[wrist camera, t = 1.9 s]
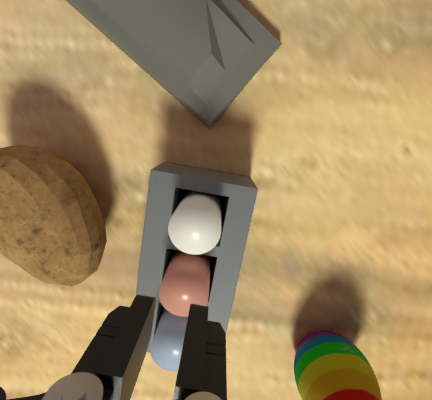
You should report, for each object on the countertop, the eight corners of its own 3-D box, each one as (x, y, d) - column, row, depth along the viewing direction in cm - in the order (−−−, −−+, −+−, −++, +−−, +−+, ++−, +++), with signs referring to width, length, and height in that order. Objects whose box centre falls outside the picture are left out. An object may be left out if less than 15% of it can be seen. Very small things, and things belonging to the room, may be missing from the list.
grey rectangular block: (165, 162, 28) (150, 169, 22) (250, 177, 28) (257, 188, 22) (145, 310, 32) (129, 348, 27) (219, 322, 33) (219, 363, 27)
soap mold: (209, 130, 28) (207, 130, 24) (45, -16, 25) (17, -39, 22) (279, 47, 26) (288, 34, 22) (109, -123, 23) (90, -168, 19)
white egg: (183, 184, 26) (171, 200, 20) (224, 192, 26) (225, 209, 20) (177, 224, 26) (164, 249, 21) (217, 231, 27) (216, 258, 21)
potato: (73, 275, 31) (24, 322, 24) (-6, 170, 29) (-90, 184, 21) (142, 238, 30) (115, 274, 22) (67, 124, 27) (6, 120, 20)
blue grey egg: (167, 288, 28) (153, 328, 22) (205, 294, 28) (200, 336, 22) (162, 320, 29) (147, 367, 23) (199, 326, 29) (193, 374, 23)
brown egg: (175, 239, 27) (162, 268, 21) (214, 245, 27) (212, 277, 21) (169, 274, 28) (155, 312, 22) (207, 281, 28) (204, 320, 22)
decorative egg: (320, 309, 32) (363, 386, 22) (368, 346, 33) (429, 435, 23) (274, 353, 34) (295, 443, 24) (321, 387, 35) (360, 486, 25)
